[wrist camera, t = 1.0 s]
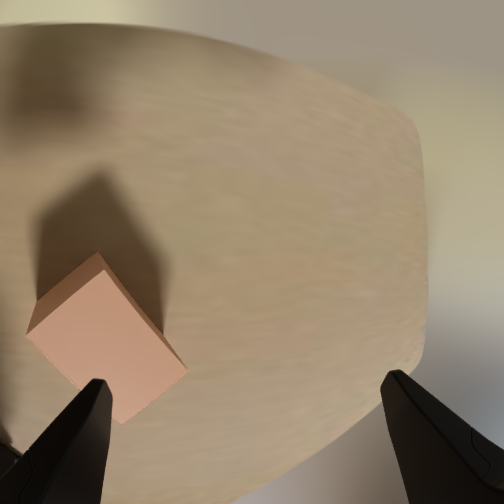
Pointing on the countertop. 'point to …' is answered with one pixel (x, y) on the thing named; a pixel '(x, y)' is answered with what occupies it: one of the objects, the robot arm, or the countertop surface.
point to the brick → (104, 338)
